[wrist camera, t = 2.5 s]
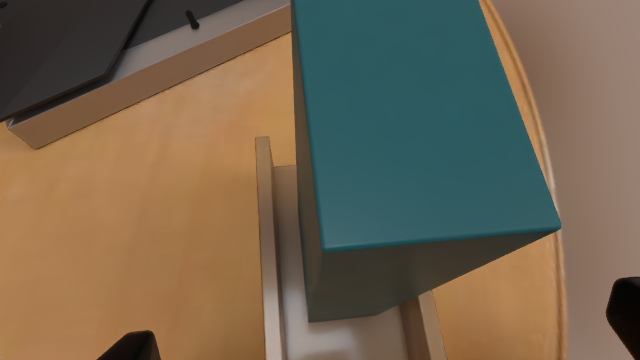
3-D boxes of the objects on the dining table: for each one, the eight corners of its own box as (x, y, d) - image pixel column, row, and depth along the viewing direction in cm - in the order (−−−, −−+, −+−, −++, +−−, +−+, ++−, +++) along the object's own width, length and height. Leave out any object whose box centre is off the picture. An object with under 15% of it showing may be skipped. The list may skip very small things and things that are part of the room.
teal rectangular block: (377, 315, 17) (565, 228, 5) (307, 323, 16) (320, 252, 4) (360, 206, 19) (462, -50, 7) (297, 211, 18) (288, -43, 6)
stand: (424, 373, 17) (458, 380, 13) (270, 392, 16) (260, 405, 12) (384, 165, 21) (401, 126, 17) (259, 175, 20) (250, 137, 16)
